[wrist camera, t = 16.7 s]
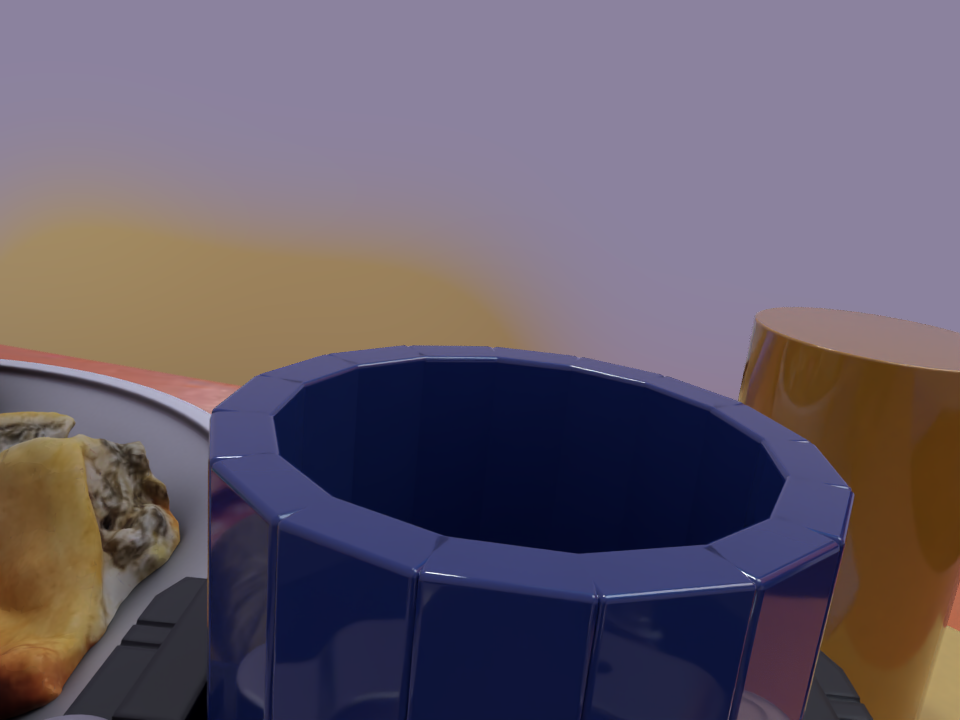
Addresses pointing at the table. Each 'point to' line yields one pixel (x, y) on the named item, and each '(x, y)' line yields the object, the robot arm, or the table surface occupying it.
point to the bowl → (89, 522)
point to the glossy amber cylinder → (876, 480)
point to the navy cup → (511, 544)
